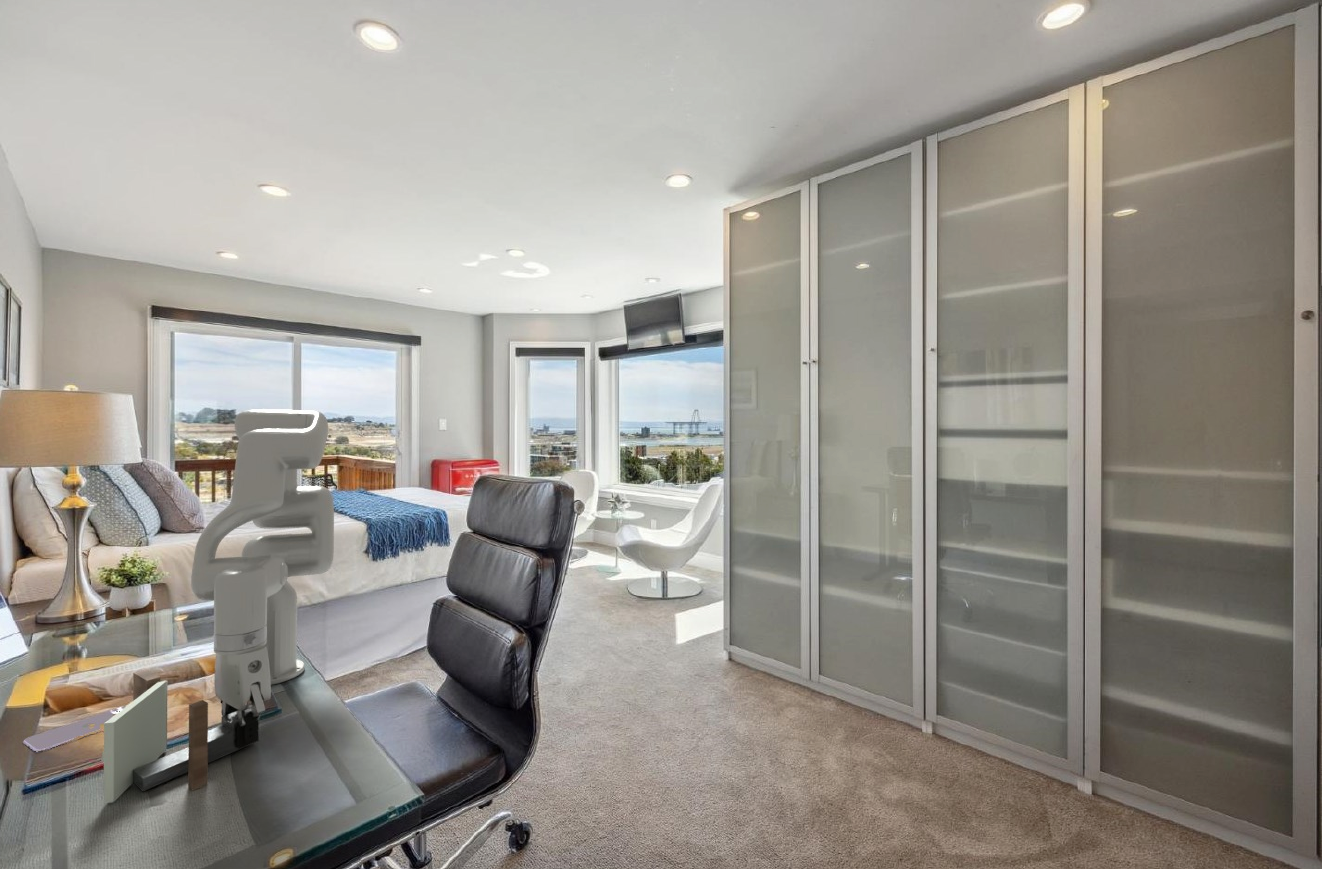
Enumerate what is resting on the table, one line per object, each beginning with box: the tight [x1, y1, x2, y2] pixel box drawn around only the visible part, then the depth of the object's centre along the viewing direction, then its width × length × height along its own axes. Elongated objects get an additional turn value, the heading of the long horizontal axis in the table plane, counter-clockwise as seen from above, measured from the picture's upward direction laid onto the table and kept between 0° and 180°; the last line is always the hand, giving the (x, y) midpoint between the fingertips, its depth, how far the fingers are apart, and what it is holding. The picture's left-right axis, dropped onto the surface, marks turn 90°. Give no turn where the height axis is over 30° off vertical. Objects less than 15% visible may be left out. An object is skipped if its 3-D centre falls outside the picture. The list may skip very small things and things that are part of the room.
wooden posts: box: [132, 668, 209, 791], centre depth 96 cm, size 23×2×13 cm, turn 60°
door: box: [100, 680, 169, 804], centre depth 93 cm, size 15×2×12 cm, turn 16°
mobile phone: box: [22, 705, 127, 753], centre depth 107 cm, size 8×1×15 cm
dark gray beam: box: [132, 708, 260, 792], centre depth 96 cm, size 16×4×5 cm, turn 150°
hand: (240, 739), depth 102 cm, fingers closed on dark gray beam, 4 cm apart
